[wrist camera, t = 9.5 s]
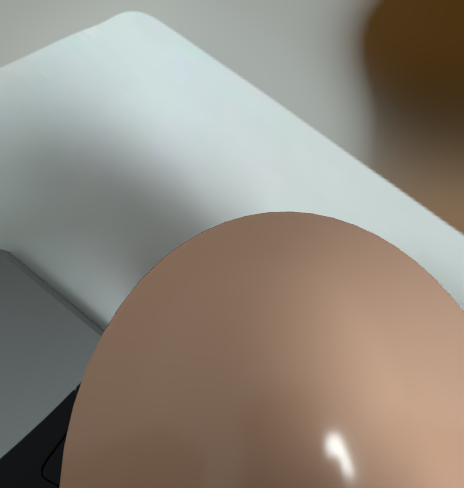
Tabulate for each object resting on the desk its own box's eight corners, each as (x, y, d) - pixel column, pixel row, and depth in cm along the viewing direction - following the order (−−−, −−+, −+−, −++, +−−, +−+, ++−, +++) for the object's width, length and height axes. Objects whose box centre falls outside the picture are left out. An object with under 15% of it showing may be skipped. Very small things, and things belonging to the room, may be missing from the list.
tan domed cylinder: (238, 421, 13) (492, 1145, 2) (157, 354, 14) (-84, 532, 2) (290, 328, 15) (560, 354, 4) (217, 274, 16) (254, 152, 4)
